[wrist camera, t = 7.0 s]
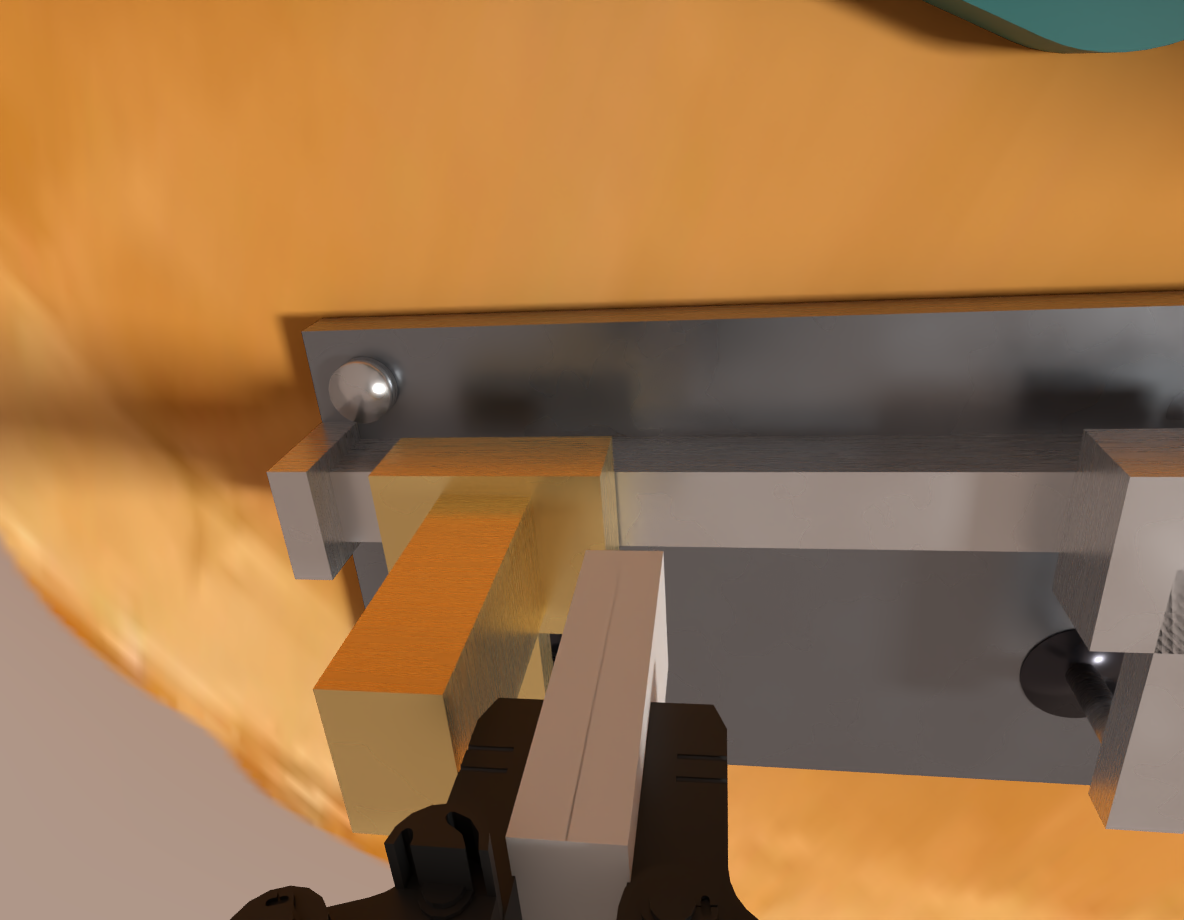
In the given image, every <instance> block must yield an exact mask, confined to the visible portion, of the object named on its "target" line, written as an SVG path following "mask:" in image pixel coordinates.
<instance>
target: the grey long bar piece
mask: <svg viewBox="0 0 1184 920" xmlns="http://www.w3.org/2000/svg"><path fill="white" fill-rule="evenodd" d="M399 440H400V439H361V436H360V432H359V427H358V423H357V422H322V423H321V424H319V425H318V426H317V427H316V428H315V429H314V430H313V431H312V432H310V433H309V434H308V435H307V436H306V437H305V438H304V439H303V440H302V441H300V442H299V443H298V444H297V445H296V446H295V447H294V448H293V449H292V450H290V451H289V452H288V453H287V454H286V455H285V456H284V457H283V458H281V459H280V460H279V461H278V462H277V463H276V464H275V465H274V466H273V467H271V468H270V469H269V470H268V471H267V476H268V480H269V483H270V487H271V491H272V494H273V498H274V502H275V506H276V509H277V513H278V517H279V520H280V524H281V528H282V532H283V535H284V539H285V543H286V546H287V550H288V554H289V558H290V561H291V565H292V569H293V572H294V576H295V579H311V580H333V579H334V578H335V576H336V575H337V574H338V572H339V571H340V570H341V568H342V567H343V566H344V564H345V563H346V562H347V560H348V559H349V558H350V556H351V555H352V554H353V552H354V551H355V550H356V548H357V547H358V546H359V544H360V543H361V542H382V540H381V535H380V530H379V526H378V521H377V516H376V511H375V507H374V502H373V497H372V492H371V488H370V483H369V478H368V476H369V474H370V473H371V472H372V471H373V470H374V469H375V467H376V466H377V465H378V464H379V463H380V462H381V460H382V459H383V458H384V457H385V456H386V455H387V454H388V452H389V451H390V450H391V449H392V448H393V447H394V445H395V444H396V443H397V442H398V441H399ZM612 445H613V460H614V475H615V490H616V505H617V520H618V535H619V546H665V547H732V548H799V549H867V550H934V551H1001V552H1059V555H1058V560H1057V565H1056V570H1055V575H1054V580H1053V585H1052V591H1053V593H1054V595H1055V596H1056V598H1057V599H1058V601H1059V603H1060V604H1061V606H1062V607H1063V609H1064V611H1065V612H1066V614H1067V616H1068V617H1069V619H1070V620H1071V622H1072V624H1073V625H1074V627H1075V629H1076V630H1077V632H1078V633H1079V635H1080V637H1081V638H1082V640H1083V642H1084V643H1085V645H1086V646H1087V648H1088V650H1089V651H1097V652H1125V653H1124V657H1123V660H1122V664H1121V668H1120V672H1119V676H1118V680H1117V684H1116V688H1115V692H1114V696H1113V695H1112V693H1111V691H1110V690H1109V688H1108V686H1107V685H1106V683H1105V682H1104V680H1103V678H1102V677H1101V675H1100V673H1099V672H1098V670H1097V669H1096V667H1095V666H1093V665H1091V664H1089V663H1078V664H1075V665H1073V666H1071V667H1070V668H1069V669H1068V670H1067V671H1066V674H1065V679H1066V681H1067V683H1068V684H1069V686H1070V688H1071V690H1072V692H1073V694H1074V695H1075V697H1076V699H1077V701H1078V703H1079V704H1080V706H1081V708H1082V710H1083V712H1084V714H1085V715H1086V717H1087V719H1088V721H1089V723H1090V724H1091V726H1092V728H1093V730H1094V732H1095V734H1096V735H1097V737H1098V739H1099V741H1100V743H1101V746H1100V750H1099V754H1098V758H1097V762H1096V766H1095V770H1094V774H1093V778H1092V782H1091V785H1090V789H1089V793H1088V794H1089V796H1090V798H1091V800H1092V802H1093V804H1094V806H1095V808H1096V810H1097V812H1098V814H1099V816H1100V818H1101V820H1102V822H1103V825H1104V827H1105V829H1119V830H1134V831H1149V832H1165V833H1180V834H1183V832H1184V428H1175V429H1084V430H1083V434H1005V435H855V436H705V437H612Z"/></svg>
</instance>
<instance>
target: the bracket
mask: <svg viewBox="0 0 1184 920" xmlns="http://www.w3.org/2000/svg"><path fill="white" fill-rule="evenodd" d="M923 1H925V2H927V3H929V4H931V5H933V6H936V7H938V8H940V9H942V10H944V11H947V12H949V13H951V14H953V15H955V16H957V17H960V18H962V19H964V20H966V21H968V22H971V23H973V24H975V25H977V26H979V27H982V28H984V29H986V30H988V31H990V32H992V33H995V34H997V35H999V36H1001V37H1003V38H1006V39H1008V40H1010V41H1012V42H1015V43H1018V44H1020V45H1023V46H1025V47H1029V48H1033V49H1037V50H1041V51H1047V52H1055V53H1111V52H1130V51H1139V50H1147V49H1152V48H1156V47H1161V46H1166V45H1170V44H1173V43H1176V42H1179V41H1182V40H1184V0H923Z"/></svg>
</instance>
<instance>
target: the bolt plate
mask: <svg viewBox="0 0 1184 920" xmlns="http://www.w3.org/2000/svg"><path fill="white" fill-rule="evenodd" d="M301 332H302V336H303V341H304V345H305V349H306V354H307V358H308V362H309V367H310V371H311V375H312V380H313V384H314V388H315V393H316V397H317V401H318V406H319V410H320V415H321V419H322V422H357V423H358V427H359V432H360V436H361V439H400V438H440V437H586V436H612V437H705V436H855V435H1005V434H1083V430H1084V429H1175V428H1184V291H1158V292H1127V293H1096V294H1065V295H1033V296H1002V297H971V298H940V299H909V300H878V301H846V302H815V303H784V304H753V305H722V306H691V307H660V308H628V309H597V310H566V311H535V312H504V313H473V314H441V315H410V316H379V317H348V318H322V319H320V320H319V321H317V322H315V323H314V324H312V325H311V326H309V327H308V328H306V329H305V330H303V331H301ZM619 549H620V551H663V554H664V578H665V601H666V624H667V648H668V674H667V686H666V697H665V703H686V704H710V705H714V706H715V708H716V710H717V712H718V713H719V715H720V717H721V719H722V721H723V723H724V724H725V726H726V728H727V764H728V765H745V766H763V767H780V768H798V769H816V770H833V771H851V772H868V773H886V774H903V775H921V776H938V777H956V778H973V779H991V780H1009V781H1026V782H1044V783H1061V784H1079V785H1091V782H1092V778H1093V774H1094V770H1095V766H1096V762H1097V758H1098V754H1099V750H1100V746H1101V743H1100V741H1099V739H1098V737H1097V735H1096V734H1095V732H1094V730H1093V728H1092V726H1091V724H1090V723H1089V721H1088V719H1087V717H1086V715H1085V714H1084V712H1083V710H1082V708H1081V706H1080V704H1079V703H1078V701H1077V699H1076V697H1075V695H1074V694H1073V692H1072V690H1071V688H1070V686H1069V684H1068V683H1067V681H1066V679H1065V674H1066V671H1067V670H1068V669H1069V668H1070V667H1071V666H1073V665H1075V664H1078V663H1089V664H1091V665H1093V666H1095V667H1096V669H1097V670H1098V672H1099V673H1100V675H1101V677H1102V678H1103V680H1104V682H1105V683H1106V685H1107V686H1108V688H1109V690H1110V691H1111V693H1112V695H1113V696H1114V692H1115V688H1116V684H1117V680H1118V676H1119V672H1120V668H1121V664H1122V660H1123V657H1124V653H1125V652H1097V651H1089V650H1088V648H1087V646H1086V645H1085V643H1084V642H1083V640H1082V638H1081V637H1080V635H1079V633H1078V632H1077V630H1076V629H1075V627H1074V625H1073V624H1072V622H1071V620H1070V619H1069V617H1068V616H1067V614H1066V612H1065V611H1064V609H1063V607H1062V606H1061V604H1060V603H1059V601H1058V599H1057V598H1056V596H1055V595H1054V593H1053V591H1052V585H1053V580H1054V575H1055V570H1056V565H1057V560H1058V555H1059V552H1001V551H934V550H867V549H799V548H732V547H665V546H619ZM353 558H354V562H355V567H356V571H357V575H358V580H359V584H360V588H361V593H362V597H363V601H364V606H365V609H366V607H367V606H368V604H369V603H370V601H371V600H372V598H373V597H374V595H375V594H376V592H377V591H378V589H379V588H380V586H381V585H382V583H383V582H384V580H385V579H386V577H387V575H388V574H389V573H388V568H387V564H386V559H385V554H384V549H383V545H382V542H361V543H360V544H359V546H358V547H357V548H356V550H355V551H354V552H353ZM561 637H562V634H550V643H551V651H552V652H554V653H557V652H558V648H559V644H560V641H561Z"/></svg>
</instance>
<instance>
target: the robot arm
mask: <svg viewBox="0 0 1184 920" xmlns="http://www.w3.org/2000/svg"><path fill="white" fill-rule="evenodd" d="M667 674H668V648H667V624H666V601H665V578H664V554H663V551H620V550H586V552H585V555H584V559H583V563H582V566H581V570H580V573H579V577H578V580H577V584H576V588H575V591H574V595H573V598H572V602H571V605H570V609H569V612H568V616H567V620H566V623H565V627H564V630H563V634H562V637H561V641H560V644H559V648H558V652H557V655H556V659H555V662H554V666H553V669H552V673H551V677H550V680H549V684H548V687H547V691H546V694H545V698H544V700H543V699H519V698H498V699H497V700H496V701H495V702H494V703H493V704H492V705H491V706H490V707H489V708H488V709H487V710H486V711H485V712H484V713H483V715H482V716H481V717H480V718H479V719H478V720H477V723H476V726H475V728H474V731H473V734H472V736H471V739H470V742H469V745H468V750H466V753H465V755H464V758H463V761H462V763H461V769H460V771H458V774H457V777H456V779H455V782H454V785H453V787H452V790H451V793H450V795H449V798H448V801H447V803H446V804H438V805H430V806H428V807H426V808H423V809H421V810H418V811H416V812H413V813H411V814H410V815H409V816H408V817H406V818H405V819H404V820H403V821H401V822H400V823H399V824H398V825H396V826H395V827H394V829H393V830H392V832H391V833H390V835H389V837H388V838H387V840H386V841H385V843H384V845H385V849H386V853H387V856H388V860H389V864H390V868H391V872H392V876H393V880H394V883H395V887H393V888H392V889H390V890H388V891H386V892H384V893H381V894H378V895H375V896H372V897H369V898H365V899H361V900H356V901H352V902H348V903H343V904H339V905H334V906H330V907H326V905H325V903H324V900H323V898H322V897H321V896H320V895H318V894H317V893H315V892H314V891H312V890H311V889H310V888H305V887H296V886H287V887H283V888H279V889H274V890H270V891H268V892H266V893H264V894H262V895H260V896H259V897H257V898H255V899H253V900H251V901H249V902H248V903H247V904H246V905H245V906H244V907H243V908H242V909H241V910H240V911H239V912H238V913H237V914H235V915H234V916H233V917H232V918H231V919H230V920H758V919H757V918H756V917H755V916H754V915H752V914H751V913H750V912H749V911H748V910H747V909H746V908H745V907H744V906H743V904H742V903H741V902H740V900H739V899H738V898H737V896H736V894H735V892H734V890H733V887H732V885H731V883H730V877H729V871H728V791H727V728H726V726H725V724H724V723H723V721H722V719H721V717H720V715H719V713H718V712H717V710H716V708H715V706H714V705H710V704H686V703H665V697H666V686H667Z"/></svg>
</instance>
